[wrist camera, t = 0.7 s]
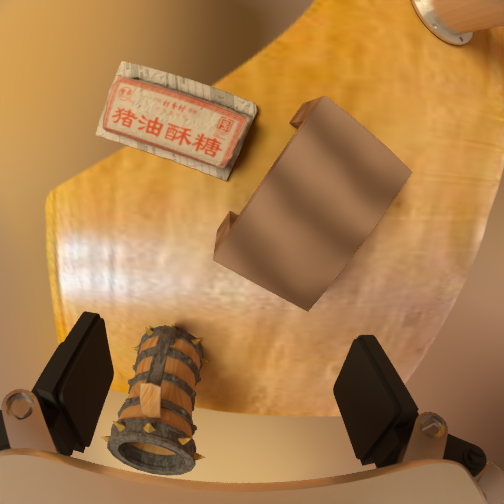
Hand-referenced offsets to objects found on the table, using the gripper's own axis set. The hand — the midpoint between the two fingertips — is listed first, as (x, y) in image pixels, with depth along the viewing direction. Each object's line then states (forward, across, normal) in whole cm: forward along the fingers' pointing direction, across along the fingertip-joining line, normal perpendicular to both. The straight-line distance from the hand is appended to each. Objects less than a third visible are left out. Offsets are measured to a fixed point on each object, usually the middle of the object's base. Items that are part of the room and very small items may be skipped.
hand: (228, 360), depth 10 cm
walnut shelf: (+28, -8, -2) cm, 29 cm away
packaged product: (+28, +8, -9) cm, 31 cm away
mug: (+28, +7, +23) cm, 37 cm away
